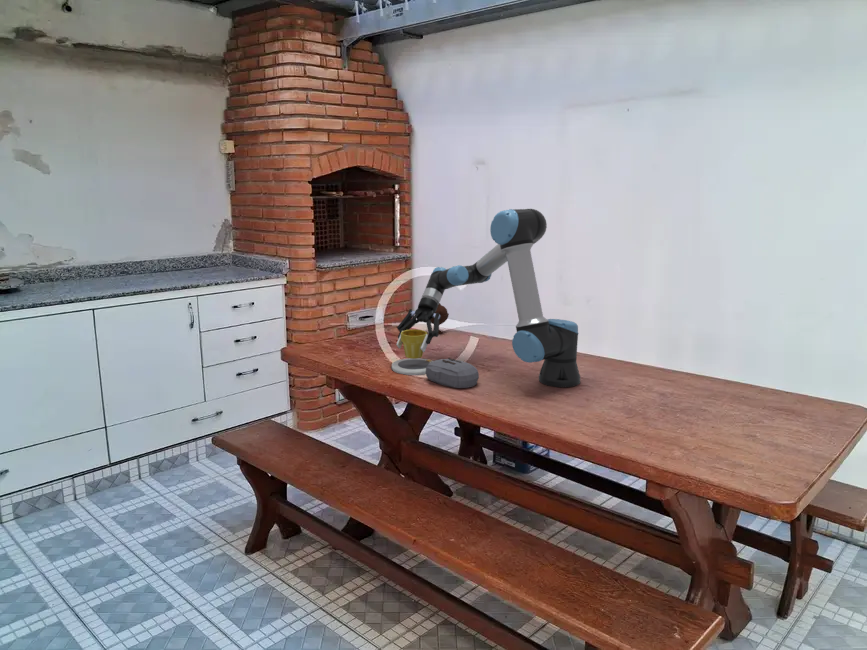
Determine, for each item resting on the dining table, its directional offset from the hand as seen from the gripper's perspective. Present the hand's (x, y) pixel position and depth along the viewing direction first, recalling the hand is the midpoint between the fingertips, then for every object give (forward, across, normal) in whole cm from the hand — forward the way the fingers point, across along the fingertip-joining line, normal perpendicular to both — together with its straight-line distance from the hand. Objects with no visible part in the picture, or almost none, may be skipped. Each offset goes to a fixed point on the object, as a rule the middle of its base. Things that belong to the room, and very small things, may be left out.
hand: (410, 348), depth 254 cm
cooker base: (+4, 0, -8) cm, 9 cm away
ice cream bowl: (-34, +19, -47) cm, 62 cm away
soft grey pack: (+10, -22, -3) cm, 24 cm away
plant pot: (+1, 0, -5) cm, 5 cm away
